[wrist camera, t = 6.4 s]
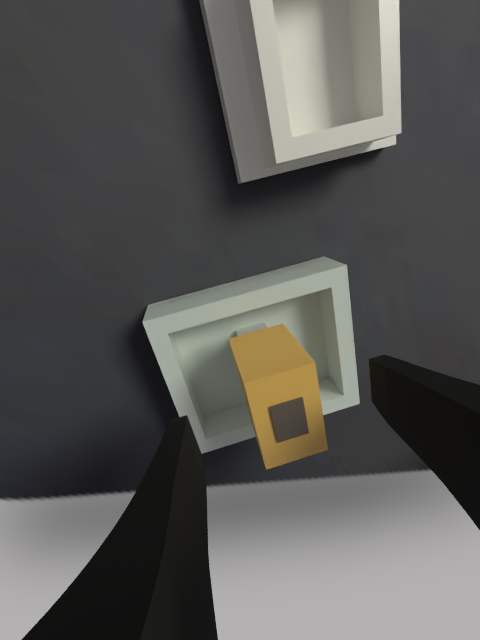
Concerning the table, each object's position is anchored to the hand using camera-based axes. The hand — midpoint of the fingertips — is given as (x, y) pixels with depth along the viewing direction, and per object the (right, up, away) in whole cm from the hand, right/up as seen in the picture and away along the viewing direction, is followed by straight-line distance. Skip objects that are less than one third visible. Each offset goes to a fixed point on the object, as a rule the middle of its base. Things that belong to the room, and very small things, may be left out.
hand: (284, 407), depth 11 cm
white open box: (+1, +13, +1) cm, 13 cm away
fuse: (-1, +2, +4) cm, 5 cm away
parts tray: (-1, +2, +5) cm, 5 cm away
